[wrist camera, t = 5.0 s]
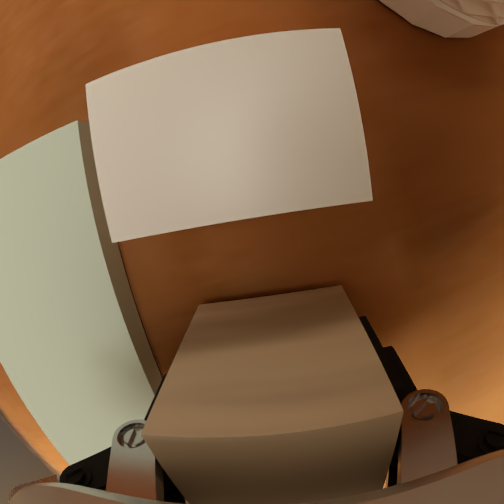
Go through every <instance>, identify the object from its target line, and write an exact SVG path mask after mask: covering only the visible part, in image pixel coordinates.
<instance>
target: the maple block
mask: <svg viewBox="0 0 504 504" xmlns="http://www.w3.org/2000/svg"><path fill="white" fill-rule="evenodd" d="M402 416H403V408H402V406H401V404H400V402H399V399H398V397H397V395H396V393H395V391H394V389H393V386H392V384H391V382H390V380H389V378H388V376H387V374H386V372H385V370H384V367H383V365H382V363H381V361H380V359H379V357H378V355H377V353H376V351H375V349H374V347H373V345H372V343H371V341H370V339H369V337H368V335H367V333H366V331H365V329H364V327H363V325H362V323H361V321H360V319H359V317H358V316H357V314H356V312H355V310H354V308H353V306H352V304H351V302H350V300H349V298H348V297H347V295H346V293H345V291H344V289H343V287H342V285H339V286H333V287H326V288H320V289H314V290H307V291H300V292H294V293H287V294H280V295H273V296H265V297H258V298H250V299H242V300H235V301H226V302H218V303H210V304H201V305H198V308H197V310H196V312H195V314H194V316H193V318H192V321H191V323H190V325H189V327H188V329H187V331H186V334H185V336H184V338H183V340H182V342H181V344H180V347H179V349H178V351H177V353H176V355H175V358H174V360H173V362H172V364H171V367H170V369H169V371H168V373H167V375H166V378H165V380H164V382H163V384H162V387H161V389H160V391H159V393H158V396H157V398H156V400H155V402H154V405H153V407H152V409H151V412H150V414H149V416H148V419H147V421H146V423H145V425H144V428H143V430H142V432H141V435H142V437H143V439H144V440H145V442H146V443H147V445H148V447H149V448H150V450H151V451H152V453H153V454H154V456H155V457H156V459H157V460H158V462H159V463H160V465H161V466H162V468H163V469H164V471H165V472H166V473H167V475H168V476H169V478H170V479H171V480H172V482H173V483H174V484H175V486H176V487H177V488H178V490H179V491H180V492H181V494H182V495H183V496H184V498H185V499H186V500H187V501H188V503H189V504H300V503H309V502H316V501H324V500H330V499H336V498H342V497H348V496H353V495H358V494H362V493H367V492H371V491H376V490H380V489H383V486H384V483H385V480H386V476H387V473H388V470H389V467H390V463H391V460H392V456H393V453H394V449H395V445H396V441H397V437H398V433H399V429H400V425H401V421H402Z"/></svg>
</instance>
